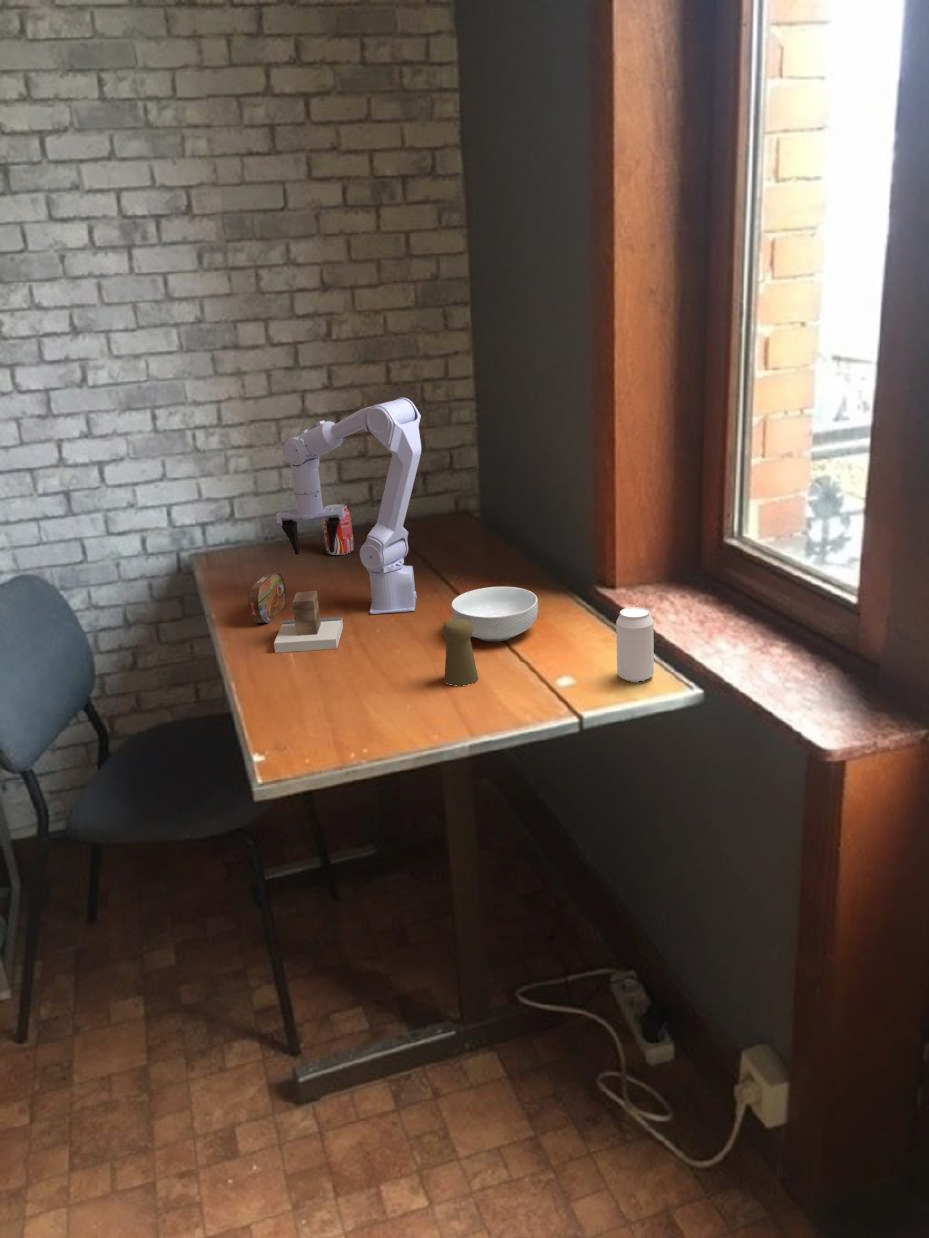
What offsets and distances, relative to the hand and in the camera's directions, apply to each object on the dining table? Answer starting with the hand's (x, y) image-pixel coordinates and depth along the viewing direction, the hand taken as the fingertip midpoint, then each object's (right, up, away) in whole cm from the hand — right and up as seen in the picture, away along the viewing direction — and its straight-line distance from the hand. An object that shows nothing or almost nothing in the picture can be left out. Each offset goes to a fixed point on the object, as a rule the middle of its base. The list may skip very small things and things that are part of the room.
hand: (315, 552), depth 229 cm
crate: (+2, -17, -21) cm, 27 cm away
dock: (+2, -19, -21) cm, 28 cm away
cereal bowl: (+39, -18, -25) cm, 50 cm away
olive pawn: (+32, -25, -45) cm, 61 cm away
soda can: (+1, +2, +36) cm, 36 cm away
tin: (-9, -14, -6) cm, 18 cm away
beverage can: (+62, -25, -49) cm, 83 cm away
